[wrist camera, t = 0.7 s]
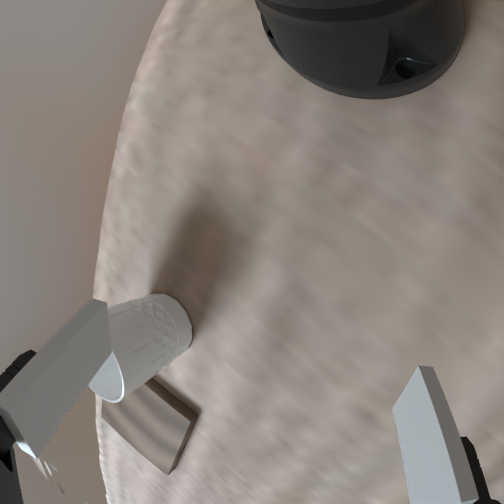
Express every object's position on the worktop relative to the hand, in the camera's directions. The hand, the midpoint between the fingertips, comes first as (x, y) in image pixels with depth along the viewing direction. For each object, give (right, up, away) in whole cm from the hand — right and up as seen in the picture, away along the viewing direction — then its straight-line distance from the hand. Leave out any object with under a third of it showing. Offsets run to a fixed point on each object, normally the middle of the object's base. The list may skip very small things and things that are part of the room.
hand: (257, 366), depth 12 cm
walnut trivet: (-15, -18, +26) cm, 35 cm away
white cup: (-9, -3, +20) cm, 22 cm away
